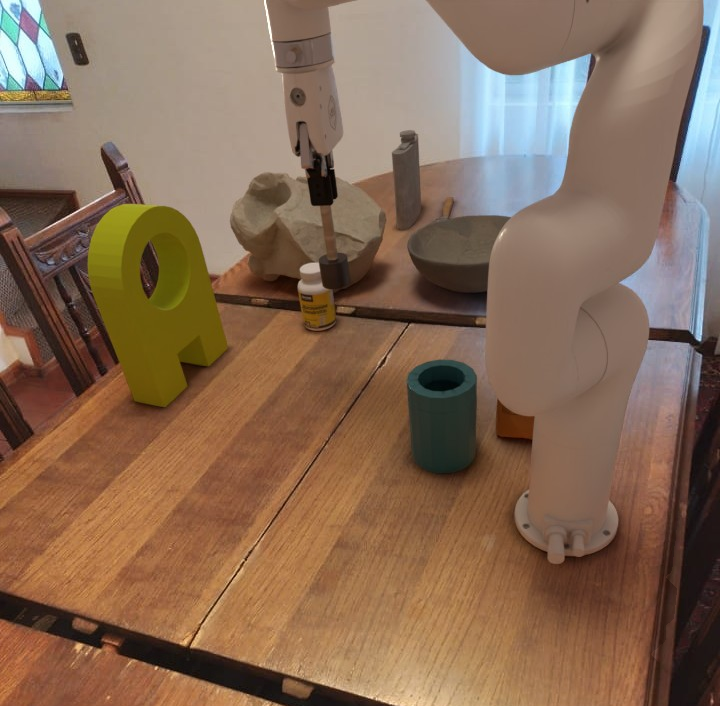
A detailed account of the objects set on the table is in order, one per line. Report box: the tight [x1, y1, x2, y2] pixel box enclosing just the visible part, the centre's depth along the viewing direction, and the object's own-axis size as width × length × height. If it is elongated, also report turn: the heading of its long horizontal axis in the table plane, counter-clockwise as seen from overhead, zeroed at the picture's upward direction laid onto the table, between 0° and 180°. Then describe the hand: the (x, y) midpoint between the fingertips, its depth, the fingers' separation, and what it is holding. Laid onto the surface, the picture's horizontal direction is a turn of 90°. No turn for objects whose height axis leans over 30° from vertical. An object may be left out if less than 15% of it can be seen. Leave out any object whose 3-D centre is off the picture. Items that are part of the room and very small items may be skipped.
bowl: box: [406, 214, 512, 294], centre depth 136 cm, size 26×26×10 cm
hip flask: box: [391, 129, 422, 231], centre depth 163 cm, size 16×4×20 cm, turn 164°
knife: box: [435, 196, 455, 222], centre depth 164 cm, size 31×1×3 cm
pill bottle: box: [297, 263, 337, 332], centre depth 129 cm, size 6×6×12 cm
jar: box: [406, 359, 478, 474], centre depth 95 cm, size 9×9×13 cm
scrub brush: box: [317, 159, 350, 290], centre depth 99 cm, size 4×4×18 cm
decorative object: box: [87, 203, 229, 408], centre depth 114 cm, size 20×7×30 cm, turn 155°
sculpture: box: [229, 171, 387, 294], centre depth 144 cm, size 26×27×30 cm
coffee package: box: [495, 397, 535, 441], centre depth 95 cm, size 10×12×22 cm
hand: (324, 201), depth 96 cm, fingers closed on scrub brush
